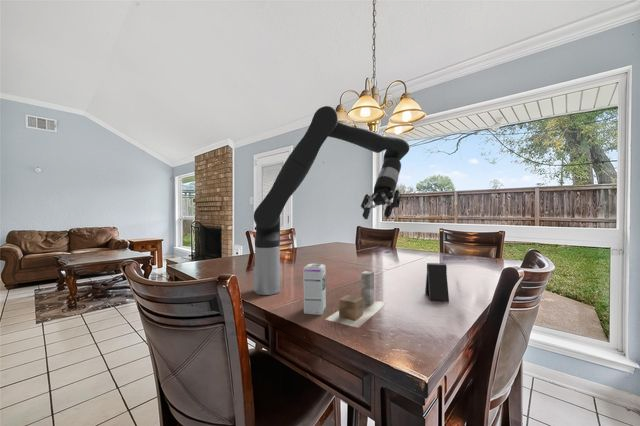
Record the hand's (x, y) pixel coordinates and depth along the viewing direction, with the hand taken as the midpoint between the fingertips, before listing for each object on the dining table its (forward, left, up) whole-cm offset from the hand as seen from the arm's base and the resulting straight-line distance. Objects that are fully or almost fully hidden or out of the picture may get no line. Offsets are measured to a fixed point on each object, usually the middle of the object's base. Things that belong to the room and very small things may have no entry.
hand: (375, 217), depth 94 cm
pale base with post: (+1, -15, -28) cm, 32 cm away
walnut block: (+1, -20, -27) cm, 34 cm away
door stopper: (+18, +14, -29) cm, 36 cm away
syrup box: (-10, -22, -29) cm, 38 cm away
